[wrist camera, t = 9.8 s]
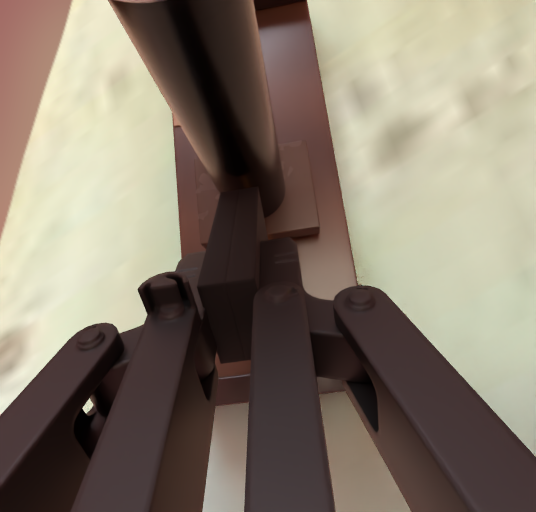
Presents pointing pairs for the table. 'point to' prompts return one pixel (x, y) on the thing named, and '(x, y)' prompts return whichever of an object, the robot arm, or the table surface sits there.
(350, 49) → the table surface
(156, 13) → the tap
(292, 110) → the rail
